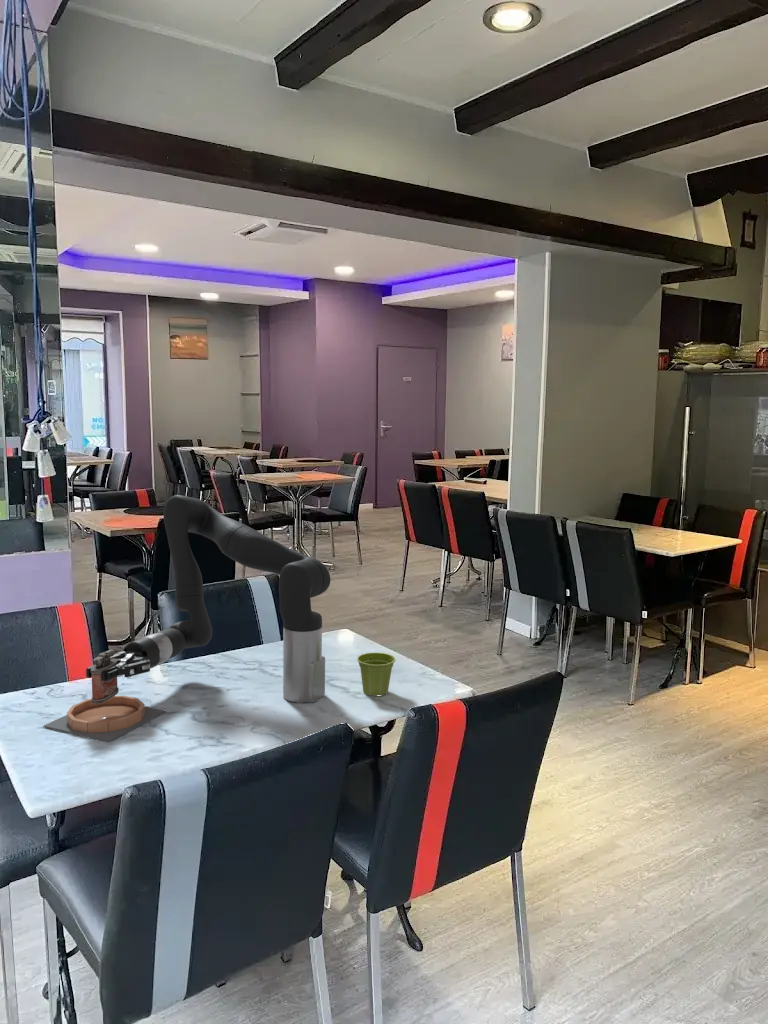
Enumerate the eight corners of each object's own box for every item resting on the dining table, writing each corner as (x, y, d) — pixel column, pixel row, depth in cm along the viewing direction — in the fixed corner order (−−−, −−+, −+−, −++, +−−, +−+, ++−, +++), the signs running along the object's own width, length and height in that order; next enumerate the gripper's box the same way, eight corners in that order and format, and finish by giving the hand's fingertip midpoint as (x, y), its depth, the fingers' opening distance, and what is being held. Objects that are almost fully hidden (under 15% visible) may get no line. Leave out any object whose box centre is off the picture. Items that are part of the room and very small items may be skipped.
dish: (158, 711, 173) (158, 702, 173) (109, 737, 159) (108, 727, 158) (104, 700, 179) (104, 691, 179) (52, 724, 165) (51, 715, 164)
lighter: (101, 704, 164) (100, 659, 163) (87, 703, 165) (86, 658, 163) (122, 691, 172) (121, 648, 171) (108, 689, 173) (107, 646, 171)
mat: (166, 712, 174) (166, 710, 174) (109, 742, 157) (109, 740, 157) (104, 699, 180) (103, 697, 180) (43, 727, 164) (43, 725, 164)
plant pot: (402, 694, 187) (403, 660, 186) (370, 702, 182) (370, 666, 181) (380, 683, 195) (381, 650, 194) (349, 690, 190) (349, 656, 189)
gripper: (124, 632, 183) (69, 653, 167) (172, 640, 177) (120, 663, 162) (124, 662, 184) (70, 686, 168) (173, 672, 179) (121, 697, 163)
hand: (95, 674), depth 165 cm, fingers closed on lighter, 3 cm apart
